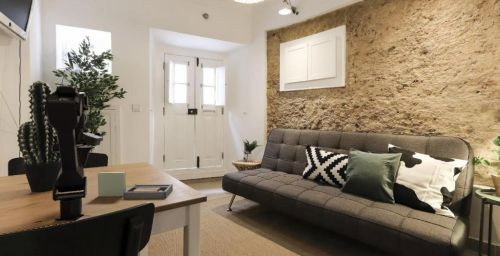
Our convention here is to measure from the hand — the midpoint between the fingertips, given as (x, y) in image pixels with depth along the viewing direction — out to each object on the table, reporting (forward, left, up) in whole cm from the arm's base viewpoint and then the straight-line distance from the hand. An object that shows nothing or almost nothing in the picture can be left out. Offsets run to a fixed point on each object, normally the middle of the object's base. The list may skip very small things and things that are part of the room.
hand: (76, 167), depth 99 cm
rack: (+8, -24, -13) cm, 28 cm away
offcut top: (+6, -24, -11) cm, 27 cm away
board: (+6, -10, -13) cm, 18 cm away
